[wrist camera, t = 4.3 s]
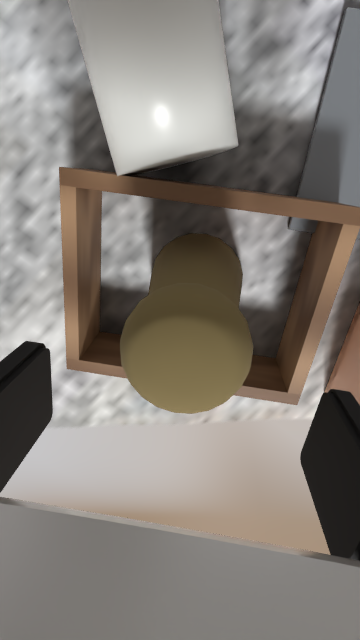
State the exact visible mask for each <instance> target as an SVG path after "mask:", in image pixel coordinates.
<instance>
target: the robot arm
mask: <svg viewBox="0 0 360 640" xmlns="http://www.w3.org/2000/svg"><path fill="white" fill-rule="evenodd" d="M52 413H53V408H52V385H51V363H50V351H49V349H47V348H46V347H45V345H44V344H43V343H36V342H30V341H25V342H24V343H23V344H21V345H20V346H19V347H18V348H16V349H15V350H14V351H13V352H12V353H10V354H9V355H8V356H7V357H5V358H4V359H3V360H2V361H1V362H0V492H1V491H2V490H3V488H4V487H5V485H6V484H7V482H8V481H9V479H10V478H11V477H12V475H13V474H14V472H15V471H16V469H17V468H18V467H19V465H20V464H21V462H22V461H23V459H24V458H25V456H26V455H27V454H28V452H29V451H30V449H31V448H32V446H33V445H34V443H35V442H36V441H37V439H38V438H39V436H40V435H41V433H42V432H43V431H44V429H45V428H46V426H47V425H48V423H49V422H50V420H51V417H52ZM301 465H302V468H303V471H304V474H305V477H306V480H307V483H308V486H309V489H310V492H311V496H312V499H313V502H314V505H315V508H316V511H317V514H318V517H319V520H320V523H321V526H322V529H323V532H324V535H325V538H326V542H327V544H328V548H329V551H330V554H331V555H328V554H322V553H318V552H313V551H307V550H301V549H296V548H291V547H285V546H280V545H273V544H269V543H263V542H257V541H252V540H247V539H241V538H236V537H230V536H225V535H219V534H214V533H208V532H202V531H196V530H191V529H185V528H179V527H174V526H168V525H163V524H157V523H151V522H145V521H139V520H134V519H128V518H123V517H117V516H111V515H105V514H99V513H94V512H88V511H82V510H76V509H70V508H63V507H58V506H52V505H46V504H40V503H34V502H29V501H23V500H17V499H9V498H4V497H0V640H360V405H359V403H358V402H357V400H356V399H355V397H354V396H353V395H352V393H351V392H349V391H343V390H337V389H330V390H329V391H328V392H324V393H323V395H322V397H321V400H320V402H319V405H318V408H317V410H316V413H315V416H314V419H313V421H312V424H311V427H310V430H309V432H308V435H307V438H306V441H305V443H304V446H303V449H302V451H301Z"/></svg>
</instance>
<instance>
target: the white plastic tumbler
mask: <svg viewBox="0 0 360 640" xmlns="http://www.w3.org/2000/svg"><path fill="white" fill-rule="evenodd" d="M68 4H69V7H70V11H71V15H72V18H73V22H74V25H75V29H76V32H77V36H78V39H79V43H80V46H81V50H82V54H83V57H84V61H85V64H86V68H87V71H88V75H89V78H90V82H91V85H92V89H93V93H94V96H95V100H96V103H97V107H98V110H99V114H100V117H101V121H102V124H103V128H104V132H105V135H106V139H107V142H108V146H109V149H110V153H111V156H112V160H113V163H114V167H115V171H116V174H117V176H120V175H137V174H142V173H147V172H152V171H156V170H160V169H165V168H169V167H173V166H177V165H181V164H184V163H188V162H192V161H195V160H199V159H202V158H206V157H209V156H212V155H216V154H219V153H222V152H225V151H228V150H230V149H233V148H235V147H237V146H238V138H237V131H236V124H235V116H234V109H233V102H232V95H231V88H230V80H229V73H228V66H227V59H226V51H225V44H224V37H223V30H222V22H221V15H220V8H219V1H218V0H68Z"/></svg>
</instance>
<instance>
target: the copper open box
mask: <svg viewBox="0 0 360 640" xmlns="http://www.w3.org/2000/svg"><path fill="white" fill-rule="evenodd" d="M330 389H337V390H343V391H349V392H351V393H352V395H353V396H354V397H355V399H356V400H357V402H358V403H359V405H360V302H359V305H358V307H357V310H356V312H355V315H354V317H353V320H352V323H351V325H350V328H349V330H348V333H347V335H346V338H345V340H344V343H343V346H342V348H341V351H340V353H339V356H338V358H337V361H336V363H335V366H334V369H333V371H332V374H331V376H330V379H329V381H328V384H327V386H326V389H325V391H324V392H328V391H329V390H330Z"/></svg>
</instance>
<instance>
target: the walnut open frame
mask: <svg viewBox="0 0 360 640" xmlns="http://www.w3.org/2000/svg"><path fill="white" fill-rule="evenodd" d="M59 178H60V204H61V230H62V256H63V282H64V308H65V335H66V361H67V369H71V370H77V371H84V372H90V373H96V374H103V375H109V376H115V377H122V378H127V376H126V374H125V371H124V369H123V367H122V365H121V354H120V338H121V335H120V334H113V333H107V332H100V281H101V211H102V191H107V192H114V193H121V194H129V195H136V196H143V197H150V198H158V199H165V200H172V201H180V202H187V203H194V204H201V205H209V206H216V207H223V208H231V209H238V210H245V211H253V212H260V213H267V214H274V215H282V216H289V217H296V218H304V219H311V220H318V224H317V227H316V231H315V233H312V236H311V240H310V243H309V247H308V250H307V253H306V257H305V260H304V264H303V267H302V270H301V274H300V277H299V281H298V284H297V287H296V291H295V294H294V298H293V301H292V304H291V308H290V311H289V315H288V318H287V321H286V325H285V328H284V332H283V335H282V339H281V342H280V345H279V349H278V352H277V356H276V358H270V357H264V356H257V355H252V362H251V367H250V371H249V373H248V375H247V377H246V379H245V381H244V383H243V385H242V387H241V388H240V389H239V390H238V391H237V392H236V393H235V394H234V395H236V396H242V397H249V398H255V399H261V400H268V401H274V402H280V403H287V404H293V405H297V404H298V401H299V399H300V396H301V393H302V390H303V387H304V384H305V382H306V379H307V376H308V373H309V370H310V367H311V365H312V362H313V359H314V356H315V353H316V350H317V348H318V345H319V342H320V339H321V336H322V334H323V331H324V328H325V325H326V322H327V319H328V317H329V314H330V311H331V308H332V305H333V302H334V300H335V297H336V294H337V291H338V288H339V286H340V283H341V280H342V277H343V274H344V271H345V269H346V266H347V263H348V260H349V257H350V254H351V252H352V249H353V246H354V243H355V240H356V238H357V235H358V232H359V229H360V207H357V206H352V205H347V204H342V203H337V202H329V201H322V200H314V199H307V198H300V197H294V196H286V195H279V194H271V193H264V192H256V191H249V190H242V189H234V188H227V187H219V186H212V185H205V184H197V183H190V182H182V181H175V180H167V179H160V178H153V177H145V176H138V175H120V176H117V174H116V172H108V171H101V170H93V169H82V168H66V167H59Z"/></svg>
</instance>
